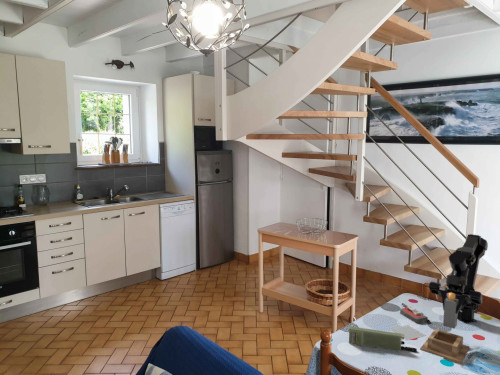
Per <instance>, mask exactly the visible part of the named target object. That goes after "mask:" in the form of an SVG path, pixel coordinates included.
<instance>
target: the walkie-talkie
mask: <svg viewBox="0 0 500 375" xmlns="http://www.w3.org/2000/svg"><path fill="white" fill-rule="evenodd" d="M401 306H403V307H402V308H400V309H399V311H400V312H399V314H400V315H402V316H404V317H405V318H407V319H409V320H410V321H412V322H413V323H415V324H422V323H423V324H424V323H427V324H429V323H431V320H430V319H428V316H426V315H424V314H422V311H420V310H418V309H417V308H414V307H412V306H409V305H407V304H406V303H403V302H401Z"/></svg>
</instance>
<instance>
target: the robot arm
mask: <svg viewBox="0 0 500 375" xmlns="http://www.w3.org/2000/svg"><path fill="white" fill-rule="evenodd" d="M465 238H466V239H465V242H464V243H463V245H462V246H461V247H460V246H459V247H457V248H456V250H455V251H453V252H452V253H451V254H450V255H449V256H448V261H449V265H450V267H451V269H452V270H451V273H450V274H446V280H445V283H446V286H442V284H441V283H440V282H435V281H430V282H429V283H428V289H429V291H430V293H431V294H434V295H438V296H439V297H440V298H441V299H442V309H443V311H444V304H445V299H446V298H447V297H448V294H449V293H455V294H456V295H455V299H458V300H459V301H458V306H457V308H456V314H457V313H458V316H457V320H459V321H461V322H463V323H465V324H469V323H475V322H477V319H475V311H477V310H479V309H480V306H481V305H482V304H483V294H482V292H481V291H477V290H475V285H476V279H477V276H478V275H477V274H478V270H479V264H480V259H481V258H482V257H484V256H485V255H486V254H485V253H486V251H487V250H488V247H489V245H488V244H489V243H488V241H487V240H486V239H484V238H483V237H482V236H481V235H479V234H473V233H472V234H471V233H469V234H467V236H466V237H465Z"/></svg>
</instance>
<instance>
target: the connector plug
mask: <svg viewBox="0 0 500 375" xmlns="http://www.w3.org/2000/svg"><path fill="white" fill-rule="evenodd" d="M455 295H456V294H455V293H448V294H447V298H446V299H445V304H444V310H443V322H442V326H443V327H447V328H450V329H453V330H454V329H455V328H457V326H458V319H457V316H458V313H457V314H456V308H457V306H458V301H459V300H458V299H455Z"/></svg>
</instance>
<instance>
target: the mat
mask: <svg viewBox="0 0 500 375" xmlns="http://www.w3.org/2000/svg"><path fill="white" fill-rule="evenodd" d="M389 330H390V331H391V332H393V333H400V334H404V336H401V337H404V339H403V340H406V341H410V340H414V339H419V338H422V337H426V336H427V335H425V333H422V332H420V331H419V330H417V329H416V328H414V327H412V326H410V325H407V324H406V325H402V326H398V327H393V328H389Z"/></svg>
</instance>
